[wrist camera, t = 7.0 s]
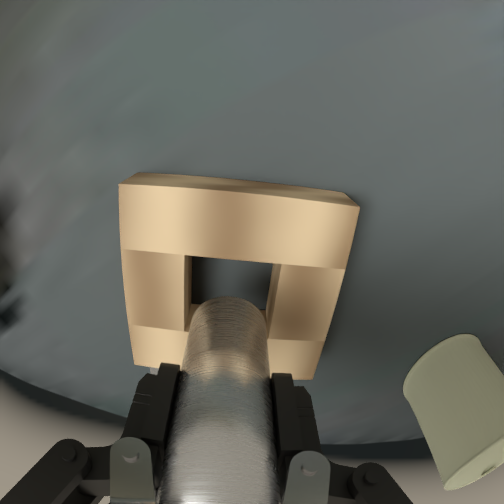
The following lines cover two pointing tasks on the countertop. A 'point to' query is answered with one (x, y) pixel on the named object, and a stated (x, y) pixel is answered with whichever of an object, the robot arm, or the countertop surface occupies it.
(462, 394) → the can
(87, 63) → the countertop surface
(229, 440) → the pin
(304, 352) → the socket block
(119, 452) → the robot arm
